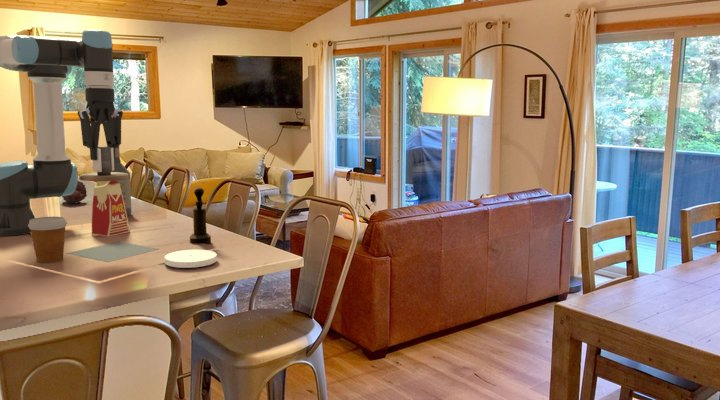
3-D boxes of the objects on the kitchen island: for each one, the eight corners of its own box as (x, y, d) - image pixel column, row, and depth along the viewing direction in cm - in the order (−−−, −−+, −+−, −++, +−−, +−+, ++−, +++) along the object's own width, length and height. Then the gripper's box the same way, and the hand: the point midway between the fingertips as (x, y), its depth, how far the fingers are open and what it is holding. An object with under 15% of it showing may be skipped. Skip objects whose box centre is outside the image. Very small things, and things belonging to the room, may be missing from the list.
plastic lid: (167, 273, 158) (167, 264, 158) (162, 260, 171) (161, 251, 171) (221, 268, 164) (221, 259, 163) (212, 256, 176) (212, 247, 176)
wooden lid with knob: (69, 178, 170) (67, 146, 168) (107, 174, 181) (106, 144, 180) (100, 182, 164) (98, 149, 162) (138, 177, 175) (137, 146, 174)
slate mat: (66, 255, 174) (66, 253, 173) (118, 243, 189) (118, 241, 189) (108, 264, 165) (108, 262, 165) (159, 250, 180) (159, 248, 180)
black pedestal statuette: (191, 240, 194) (190, 185, 191) (212, 240, 195) (211, 185, 192) (187, 245, 187) (186, 188, 185) (209, 245, 188) (207, 188, 185)
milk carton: (130, 233, 204) (127, 174, 200) (108, 238, 195) (105, 177, 192) (110, 230, 207) (107, 172, 204) (88, 235, 199) (85, 175, 196)
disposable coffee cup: (53, 267, 161) (50, 223, 159) (22, 265, 162) (19, 221, 161) (76, 259, 170) (74, 217, 168) (47, 256, 172) (44, 215, 170)
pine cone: (56, 201, 265) (55, 178, 263) (80, 199, 271) (79, 177, 269) (67, 206, 251) (65, 182, 250) (92, 204, 258) (91, 181, 256)
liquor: (132, 215, 235) (129, 138, 230) (108, 217, 230) (104, 138, 225) (127, 211, 242) (123, 137, 237) (102, 213, 237) (99, 137, 232)
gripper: (82, 86, 159) (87, 174, 163) (133, 88, 174) (136, 169, 178) (64, 86, 163) (69, 172, 167) (115, 88, 177) (118, 167, 181)
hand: (103, 170), depth 172 cm, fingers closed on wooden lid with knob, 3 cm apart
